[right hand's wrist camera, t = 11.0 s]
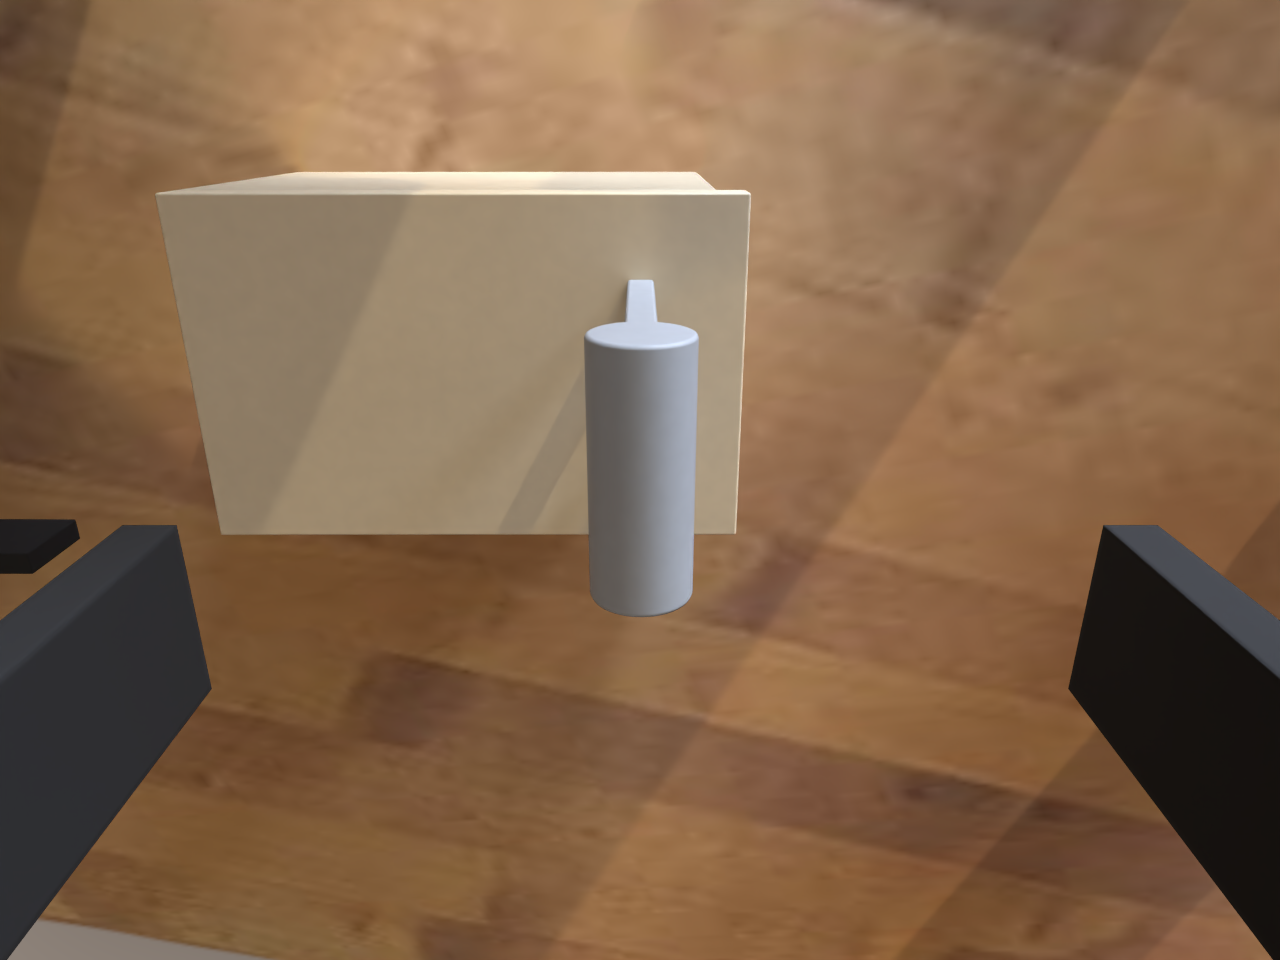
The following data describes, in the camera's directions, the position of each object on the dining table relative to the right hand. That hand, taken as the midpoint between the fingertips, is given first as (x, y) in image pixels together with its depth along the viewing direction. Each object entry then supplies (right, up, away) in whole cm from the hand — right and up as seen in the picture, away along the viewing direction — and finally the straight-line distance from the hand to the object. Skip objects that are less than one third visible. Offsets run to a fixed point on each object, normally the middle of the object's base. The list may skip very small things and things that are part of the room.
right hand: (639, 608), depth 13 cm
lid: (-5, +5, +13) cm, 14 cm away
